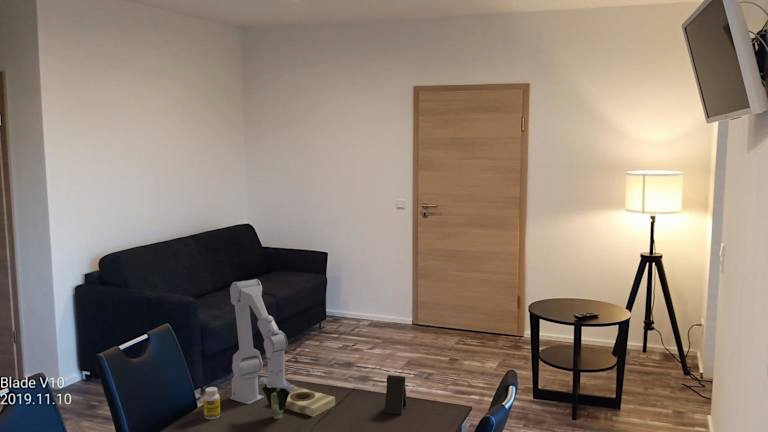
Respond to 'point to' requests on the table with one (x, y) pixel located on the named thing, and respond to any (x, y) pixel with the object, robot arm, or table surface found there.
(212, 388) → the supplement bottle
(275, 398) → the green peg
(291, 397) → the socket board
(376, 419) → the table surface
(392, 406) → the phone stand
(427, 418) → the table surface
